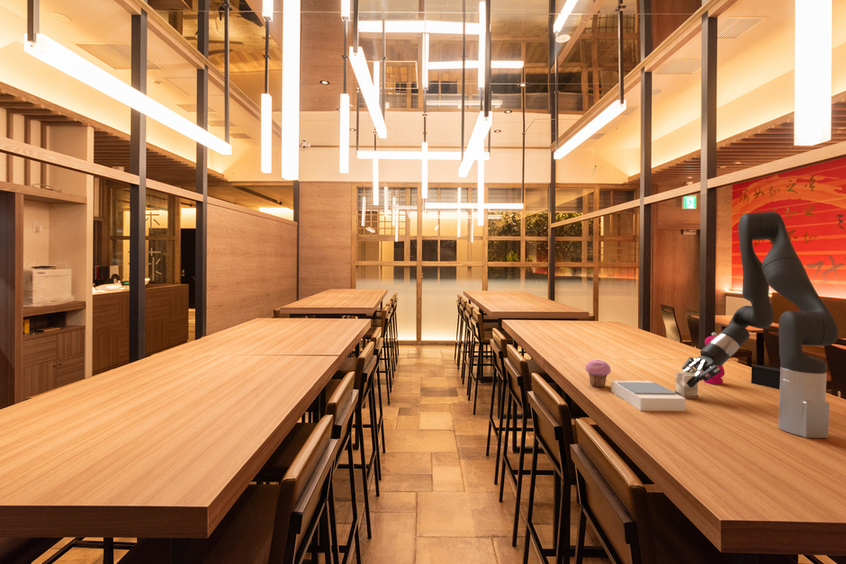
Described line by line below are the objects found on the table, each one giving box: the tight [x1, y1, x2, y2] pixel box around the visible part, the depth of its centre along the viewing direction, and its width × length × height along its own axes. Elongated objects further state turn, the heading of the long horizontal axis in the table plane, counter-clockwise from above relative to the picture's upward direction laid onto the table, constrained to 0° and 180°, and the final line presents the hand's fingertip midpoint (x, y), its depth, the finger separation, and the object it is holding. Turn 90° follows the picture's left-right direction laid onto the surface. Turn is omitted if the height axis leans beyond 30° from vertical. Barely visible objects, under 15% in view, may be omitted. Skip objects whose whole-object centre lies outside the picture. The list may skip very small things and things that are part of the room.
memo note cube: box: [674, 371, 699, 400], centre depth 140 cm, size 5×5×8 cm
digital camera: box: [750, 364, 780, 390], centre depth 153 cm, size 10×5×7 cm, turn 26°
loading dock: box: [610, 379, 687, 412], centre depth 135 cm, size 20×14×4 cm
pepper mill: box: [702, 331, 726, 385], centre depth 157 cm, size 7×7×20 cm
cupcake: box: [584, 359, 612, 388], centre depth 152 cm, size 9×9×10 cm
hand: (684, 383), depth 140 cm, fingers closed on memo note cube, 4 cm apart
